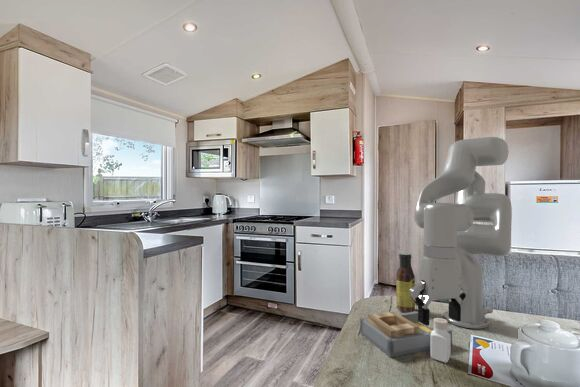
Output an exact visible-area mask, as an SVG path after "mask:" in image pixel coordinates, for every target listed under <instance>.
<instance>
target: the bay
mask: <svg viewBox="0 0 580 387" xmlns="http://www.w3.org/2000/svg"><path fill="white" fill-rule="evenodd" d="M398 314H399V315H401V316H402V317H404V318H406V319H407V320H409V321H411V322H413V323H414V324H416V325H418V326H419V334H415V335H409V336H403V337H397V338H392V339H391V338H389V337H388V336H387V335H385V334H384V333H383V332H381V331H380V330H378V329H377V328H376V327H374V326H373V325H372V324H370V323H369V322H368V317H367V318H361V319H360V326H359V327H360V329H359V330H360V332H359V333H360V334H361V335H362V336H364V338H366V339H367V340H368V341H369V342H371V343H372V344H373V345H374V346H376V347H377V349H379V350H381V351H382V353H383V354H385V355H386V356H388V357H389V358H393V357H399V356H404V355H409V354H413V353H418V352H419V353H420V352H424V351H429V350H430V334H431V332H432V331H433V330H434V329H431V328H429V327H427V326H426V325H424V324H422V323H420V322H419V321H418V311H415V310H414V311H413V312H404V313H398ZM447 332H448V333H449V334H450V335H451V346H453V330H452V329H450V328H448V329H447Z"/></svg>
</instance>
